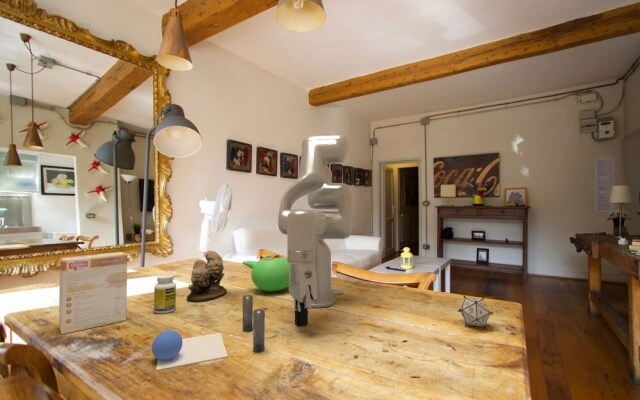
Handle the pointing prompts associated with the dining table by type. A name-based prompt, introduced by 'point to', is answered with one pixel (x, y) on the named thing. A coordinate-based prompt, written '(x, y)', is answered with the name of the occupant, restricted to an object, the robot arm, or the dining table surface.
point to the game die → (475, 312)
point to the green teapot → (270, 272)
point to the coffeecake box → (92, 291)
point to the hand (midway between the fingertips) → (301, 325)
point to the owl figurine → (207, 279)
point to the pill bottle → (165, 294)
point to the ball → (167, 345)
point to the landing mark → (196, 351)
